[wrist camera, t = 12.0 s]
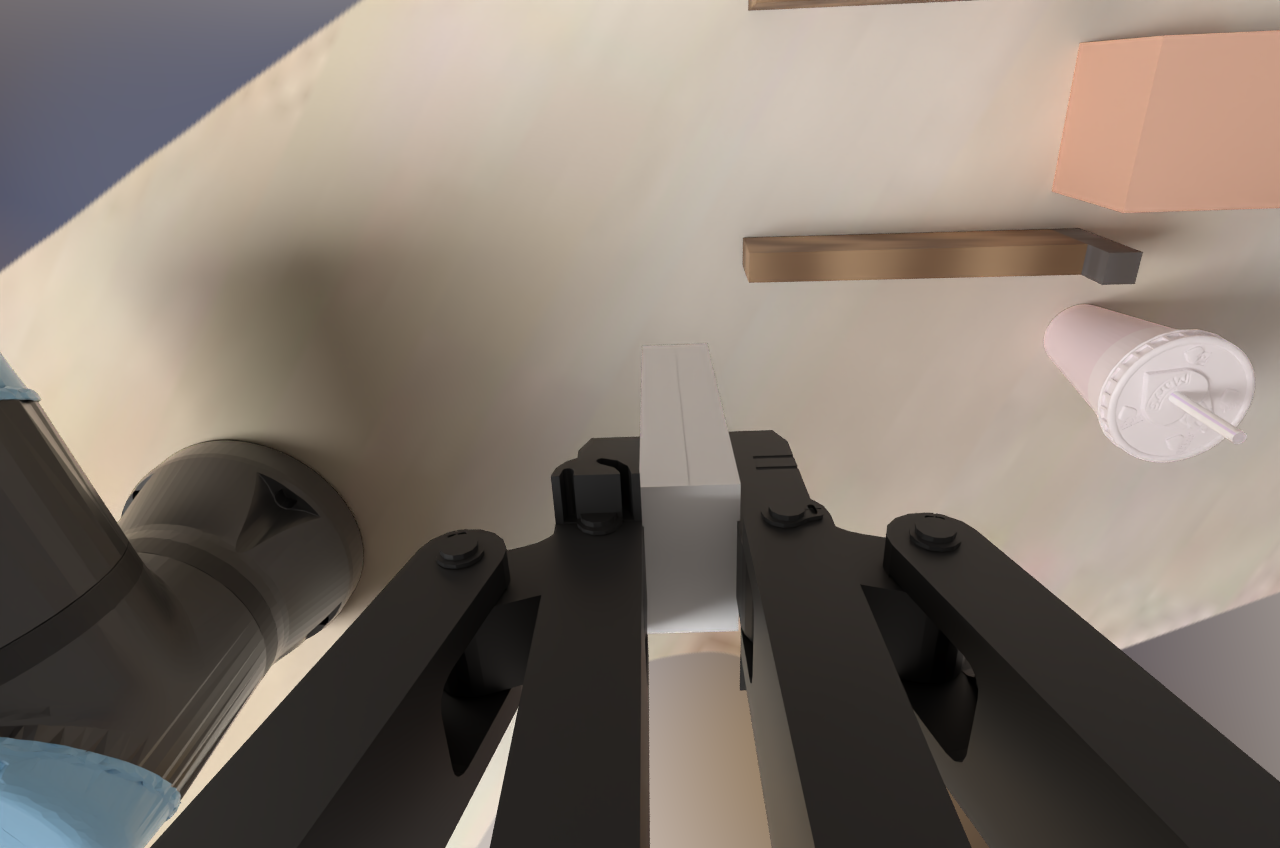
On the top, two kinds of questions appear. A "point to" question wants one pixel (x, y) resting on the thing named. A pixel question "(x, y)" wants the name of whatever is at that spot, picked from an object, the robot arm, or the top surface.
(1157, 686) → the robot arm
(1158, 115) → the block
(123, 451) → the top surface
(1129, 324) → the smoothie
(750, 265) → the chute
